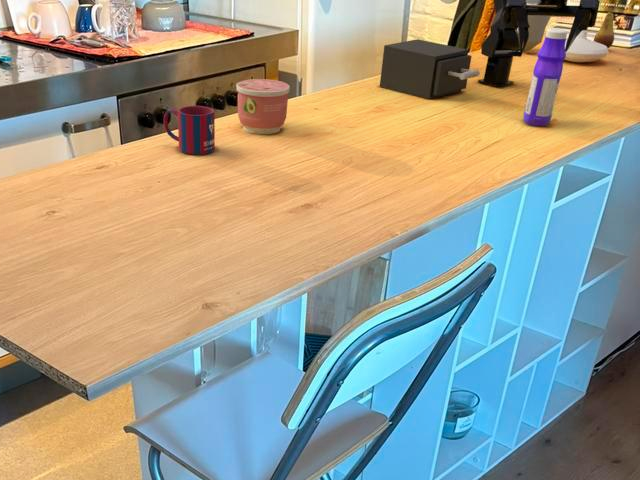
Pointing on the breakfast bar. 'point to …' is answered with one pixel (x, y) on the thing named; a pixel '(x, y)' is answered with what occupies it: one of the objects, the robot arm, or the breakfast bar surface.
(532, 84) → the bottle
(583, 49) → the vase
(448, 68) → the pull-out drawer box
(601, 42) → the fruit
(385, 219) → the breakfast bar surface
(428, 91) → the dark drawer cabinet casing
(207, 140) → the mug
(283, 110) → the container
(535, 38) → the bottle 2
